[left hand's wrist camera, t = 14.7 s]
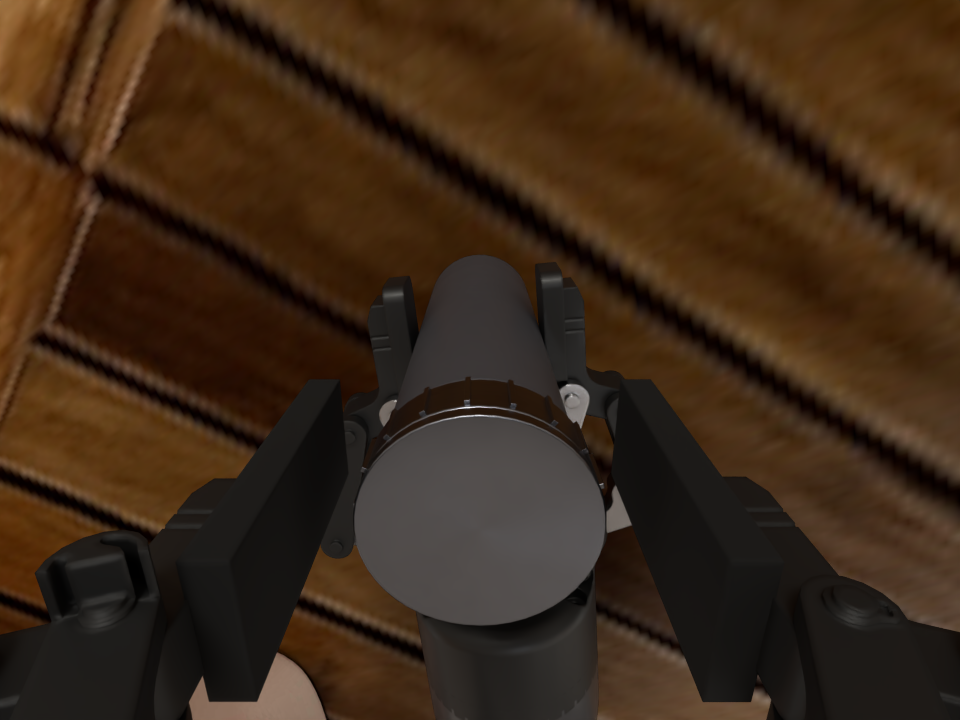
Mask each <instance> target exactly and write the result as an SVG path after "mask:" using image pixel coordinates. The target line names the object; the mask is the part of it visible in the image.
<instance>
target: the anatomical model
mask: <svg viewBox="0 0 960 720" xmlns="http://www.w3.org/2000/svg"><path fill="white" fill-rule="evenodd" d="M189 704H190V708H191V712H192V719H193V720H326V717H325V714H324V711H323V708H322V705H321V702H320V700H319V698H318V695H317V693H316V691H315V689H314V687H313V685H312V683H311V681H310V680H309V678H308V677H307V675H306V674H305V673H304V672H303V670H302V669H301V668H300V667H299V666H298V665H296V664H295V663H294V662H293V661H292V660H290V659H288V658H287V657H285V656H284V655H282V654H280V653H278V652H277V654H276V656H275V659H274V661H273V664H272V666H271V669H270V671H269V674H268V676H267V679H266V681H265V684H264V686H263V689H262V691H261V694H260V696H259V699H258V701H257V702H209V700H208V696H207V692H206V688H205V683H204V679H203V676H202V678H201V680H200V682H199V684H198V686H197V688H196V690H195V691H194V693H193V695H192V697H191V699H190V701H189Z"/></svg>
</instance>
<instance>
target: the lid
mask: <svg viewBox="0 0 960 720" xmlns="http://www.w3.org/2000/svg"><path fill="white" fill-rule="evenodd" d="M360 471H361V472H363V473H364V474H363V477H362V480H361V482H360V485H359V488H358V492H357V495H356V498H355V500H354V503H353V508H354V510H353V530H354V535H355V541H356V544H357V547H358V550H359V553H360V556H361V558H362V560H363V562H364V564H365V566H366V567H367V569H368V570H369V572H370V573H371V575H372V576H373V577H374V579H375V580H376V581H377V582H378V583H379V584H380V585H381V587H382V588H383V589H384V590H385V591H386V592H388V593H389V594H390V595H391V596H393V597H394V598H395V599H396V600H398V601H399V602H401V603H402V604H404V605H405V606H407V607H409V608H411V609H413V610H415V611H417V612H419V613H421V614H423V615H426V616H429V617H431V618H434V619H437V620H441V621H445V622H449V623H455V624H462V625H477V626H484V625H498V624H504V623H511V622H515V621H518V620H522V619H526V618H528V617H531V616H534V615H536V614H539V613H541V612H543V611H545V610H547V609H549V608H551V607H553V606H554V605H556V604H557V603H559V602H560V601H562V600H563V599H565V598H566V597H567V596H568V595H570V594H571V593H572V592H573V591H574V590H575V589H576V588H577V587H578V586H579V585H580V584H581V583H582V582H583V581H584V580H585V579H586V577H587V576H588V574H589V573H590V571H591V570H592V568H593V567H594V565H595V563H596V561H597V559H598V557H599V555H600V552H601V549H602V546H603V543H604V539H605V533H606V527H607V512H606V506H605V499H604V496H603V493H602V490H601V489H603V488H605V487H604V483H603V481H602V478H601V475H600V472H599V470H598V467H597V464H596V461H595V459H594V456H593V454H590V455H589V451H588V448H587V445H586V442H585V440H584V437H583V434H582V431H581V428H580V426H579V424H578V422H577V421H576V422H574V423H573V422H572V421H571V420H570V418H569V417H568V416H567V415H566V414H565V413H564V412H563V411H562V410H561V409H560V408H558V407H557V406H556V405H555V404H554V403H553V402H552V398H551V397H550V396H548V395H547V396H546V397H543V396H541V395H540V394H538V393H536V392H534V391H531V390H529V389H527V388H525V387H521V386H518V385H515V384H514V381H513V380H509V379H508V382H501V381H496V380H480V379H478V380H471V377H465V380H463V381H458V382H453V383H448V384H445V385H442V386H438V387H435V388H433V389H430V387H429V386H428V387H426V388H425V389H424V393H422V394H420V395H418V396H417V397H415V398H413V399H412V400H410V401H409V402H407V403H406V404H405V405H404V406H402V407H401V408H400V409H399V410H397V409H395V408H394V409H393V410H392V412H391V415H390V418H389V420H388V421H387V423H386V424H385V426H384V427H383V429H382V430H381V432H380V433H379V435H378V437H377V439H376V440H375V439H372V441H371V443H370V446H369V448H368V451H367V454H366V457H365V459H364V462H363V465H362V467H361V470H360Z"/></svg>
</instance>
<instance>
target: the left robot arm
mask: <svg viewBox="0 0 960 720" xmlns="http://www.w3.org/2000/svg"><path fill="white" fill-rule="evenodd" d="M348 474H349V471H348V461H347V451H346V440H345V430H344V420H343V409H342V399H341V389H340V380H309V381H308V382H307V383H306V385H305V386H304V387H303V389H302V390H301V391H300V393H299V394H298V396H297V397H296V398H295V400H294V401H293V402H292V404H291V405H290V406H289V408H288V409H287V411H286V412H285V413H284V415H283V416H282V417H281V419H280V420H279V421H278V423H277V424H276V426H275V427H274V428H273V430H272V431H271V432H270V434H269V435H268V436H267V438H266V439H265V440H264V442H263V443H262V445H261V446H260V447H259V449H258V450H257V451H256V453H255V454H254V455H253V457H252V458H251V460H250V461H249V462H248V464H247V465H246V466H245V468H244V469H243V470H242V472H241V473H240V475H239V476H238V477H237V479H213V480H211V481H210V482H208V483H207V484H205V485H204V486H202V487H201V488H199V489H198V490H196V491H195V492H193V493H192V494H191V495H190V496H189V497H188V499H187V500H186V501H185V502H184V503H183V505H182V506H181V507H180V508H179V509H178V512H177V514H174V515H173V517H172V518H171V519H170V520H169V521H168V523H167V524H166V525H165V526H166V527H165V529H162V530H161V531H160V532H159V534H158V535H157V536H156V537H155V538H154V540H153V541H152V542H151V543H150V544H149V545H148V541H147V539H146V538H145V537H143V536H142V535H141V534H140V533H138V532H132V531H127V530H118V531H107V532H102V533H99V534H95V535H92V536H88V537H85V538H82V539H80V540H78V541H76V542H74V543H71V544H69V545H67V546H65V547H63V548H61V549H60V550H59V551H57V552H56V553H55V554H53V555H52V556H50V557H49V558H48V559H46V560H45V561H44V562H43V564H42V565H41V566H40V567H39V569H38V570H37V571H36V572H35V575H36V578H37V581H38V584H39V587H40V589H41V592H42V595H43V598H44V601H45V603H46V606H47V609H48V612H49V615H50V618H51V620H52V622H51V623H48V624H45V625H41V626H36V627H32V628H28V629H23V630H19V631H15V632H10V633H6V634H2V635H0V720H193V719H192V712H191V708H190V704H189V701H190V699H191V697H192V695H193V693H194V691H195V690H196V688H197V686H198V684H199V682H200V680H201V678H202V676H203V679H204V683H205V688H206V692H207V696H208V700H209V702H257V701H258V699H259V696H260V694H261V691H262V689H263V686H264V684H265V681H266V679H267V676H268V674H269V671H270V669H271V666H272V664H273V661H274V659H275V656H276V654H277V651H278V649H279V646H280V644H281V641H282V639H283V636H284V634H285V631H286V629H287V626H288V624H289V621H290V619H291V616H292V614H293V611H294V609H295V606H296V604H297V601H298V599H299V596H300V594H301V592H302V589H303V587H304V584H305V582H306V579H307V577H308V574H309V572H310V569H311V567H312V564H313V562H314V559H315V557H316V554H317V552H318V549H319V547H320V544H321V542H322V539H323V537H324V534H325V532H326V529H327V527H328V524H329V522H330V519H331V517H332V514H333V512H334V509H335V507H336V504H337V502H338V499H339V497H340V494H341V492H342V489H343V487H344V484H345V482H346V479H347V477H348ZM611 474H612V477H613V479H614V482H615V484H616V487H617V489H618V492H619V494H620V497H621V499H622V502H623V504H624V507H625V509H626V512H627V514H628V517H629V519H630V522H631V524H632V527H633V529H634V532H635V534H636V537H637V539H638V542H639V544H640V547H641V549H642V552H643V554H644V557H645V559H646V562H647V564H648V567H649V569H650V572H651V574H652V577H653V579H654V582H655V584H656V587H657V589H658V592H659V594H660V596H661V599H662V601H663V604H664V606H665V609H666V611H667V614H668V616H669V619H670V621H671V624H672V626H673V629H674V631H675V634H676V636H677V639H678V641H679V644H680V646H681V649H682V651H683V654H684V656H685V659H686V661H687V664H688V666H689V669H690V671H691V674H692V676H693V679H694V681H695V684H696V686H697V689H698V691H699V694H700V696H701V699H702V701H703V702H751V700H752V696H753V692H754V688H755V683H756V679H757V675H759V677H760V679H761V681H762V683H763V685H764V687H765V689H766V690H767V692H768V694H769V696H770V698H771V704H770V708H769V712H768V715H767V719H766V720H960V632H956V631H952V630H947V629H943V628H939V627H934V626H930V625H926V624H921V623H917V622H914V621H910V620H908V619H907V618H906V617H905V615H904V614H903V612H902V611H901V609H900V608H899V606H897V605H896V604H895V603H894V602H892V601H891V600H890V599H889V598H888V597H886V596H885V595H884V594H883V593H881V592H879V591H877V590H875V589H874V588H872V587H870V586H868V585H866V584H864V583H862V582H859V581H856V580H853V579H850V578H847V577H843V576H839V575H838V574H837V573H836V572H835V570H834V569H833V568H832V567H831V566H830V564H829V563H828V562H827V561H826V560H825V558H824V557H823V556H822V555H821V554H820V552H819V551H818V550H817V549H816V548H815V546H814V545H813V544H812V543H811V542H810V541H809V539H808V538H807V537H806V536H805V535H804V533H803V532H802V531H801V530H800V529H799V527H795V523H794V521H793V520H792V519H791V518H790V517H789V515H788V514H787V513H786V512H783V508H782V507H781V506H780V505H779V503H778V502H777V501H776V500H775V499H774V498H773V496H772V495H771V494H770V493H769V492H768V491H767V490H765V489H764V488H762V487H761V486H759V485H758V484H756V483H755V482H753V481H752V480H750V479H749V478H747V477H722V476H721V475H720V473H719V472H718V470H717V469H716V468H715V466H714V465H713V464H712V462H711V461H710V460H709V458H708V457H707V455H706V454H705V453H704V451H703V450H702V449H701V447H700V446H699V445H698V443H697V442H696V441H695V439H694V438H693V436H692V435H691V434H690V432H689V431H688V430H687V428H686V427H685V426H684V424H683V423H682V421H681V420H680V419H679V417H678V416H677V415H676V413H675V412H674V411H673V409H672V408H671V406H670V405H669V404H668V402H667V401H666V400H665V398H664V397H663V396H662V394H661V393H660V391H659V390H658V389H657V387H656V386H655V385H654V383H653V382H652V381H651V380H620V389H619V399H618V409H617V420H616V430H615V440H614V451H613V461H612V471H611Z"/></svg>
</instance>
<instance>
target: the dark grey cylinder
mask: <svg viewBox="0 0 960 720" xmlns="http://www.w3.org/2000/svg"><path fill="white" fill-rule="evenodd" d="M465 377H471V380H478V379H480V380H496V381H501V382H508V379H509V380H513V381H514V384H515V385H518V386H521V387H525V388H527V389H529V390H531V391H534V392H536V393H538V394H540V395H541V396H543V397H546V396H547V395H548V396H550V397H551V398H552V402H553V403H554V404H555V405H556V406H557V407H558V408H560V409H561V410H562V411H563V412H564V413H565V414H566V415H567V412H566V409H565V406H564V403H563V400H562V397H561V394H560V391H559V388H558V385H557V382H556V379H555V376H554V372H553V369H552V366H551V363H550V360H549V357H548V354H547V351H546V348H545V345H544V342H543V339H542V336H541V333H540V330H539V326H538V323H537V320H536V317H535V314H534V311H533V308H532V305H531V302H530V299H529V296H528V293H527V290H526V287H525V284H524V282H523V280H522V278H521V277H520V275H519V274H518V273H517V271H516V270H515V269H514V268H513V267H511V266H510V265H509V264H508V263H506V262H504V261H503V260H500V259H498V258H495V257H492V256H487V255H473V256H468V257H464V258H462V259H459V260H457V261H455V262H454V263H452V264H451V265H450V266H448V267H447V268H446V269H445V270H444V271H443V272H442V274H441V275H440V276H439V278H438V280H437V282H436V284H435V286H434V289H433V292H432V295H431V298H430V301H429V304H428V307H427V310H426V314H425V317H424V320H423V323H422V326H421V329H420V332H419V335H418V338H417V341H416V344H415V347H414V350H413V353H412V356H411V359H410V362H409V365H408V368H407V372H406V375H405V378H404V381H403V384H402V387H401V390H400V393H399V396H398V399H397V402H396V405H395V409H397V410H399V409H400V408H401V407H402V406H404V405H405V404H406V403H407V402H409V401H410V400H412V399H413V398H415V397H417V396H418V395H420V394H422V393H424V389H425V388H426V387H428V386H429V387H430V389H433V388H435V387H438V386H442V385H445V384H448V383H453V382H458V381H463V380H465ZM567 416H568V415H567Z"/></svg>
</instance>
